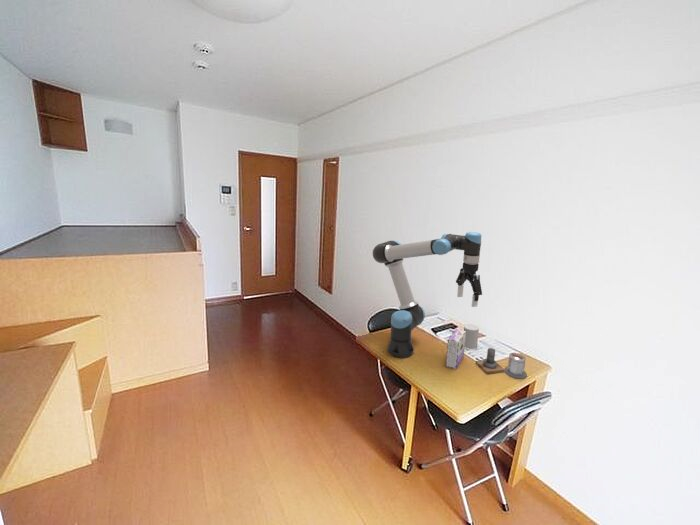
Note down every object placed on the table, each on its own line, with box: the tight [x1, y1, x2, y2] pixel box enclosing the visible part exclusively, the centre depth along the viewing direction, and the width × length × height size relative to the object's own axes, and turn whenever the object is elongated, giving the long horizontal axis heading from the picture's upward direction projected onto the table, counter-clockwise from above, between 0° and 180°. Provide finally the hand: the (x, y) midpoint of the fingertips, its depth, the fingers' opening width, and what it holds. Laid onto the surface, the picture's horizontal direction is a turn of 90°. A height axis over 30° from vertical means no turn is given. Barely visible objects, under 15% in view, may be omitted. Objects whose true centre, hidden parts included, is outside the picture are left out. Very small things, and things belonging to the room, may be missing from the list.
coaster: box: [504, 365, 528, 380], centre depth 157 cm, size 10×10×1 cm
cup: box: [463, 323, 480, 350], centre depth 183 cm, size 8×8×12 cm
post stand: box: [475, 347, 505, 375], centre depth 161 cm, size 10×10×10 cm
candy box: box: [445, 328, 466, 370], centre depth 166 cm, size 14×6×16 cm, turn 145°
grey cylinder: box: [507, 352, 527, 376], centre depth 156 cm, size 7×7×9 cm
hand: (466, 301), depth 162 cm, fingers open, 13 cm apart
